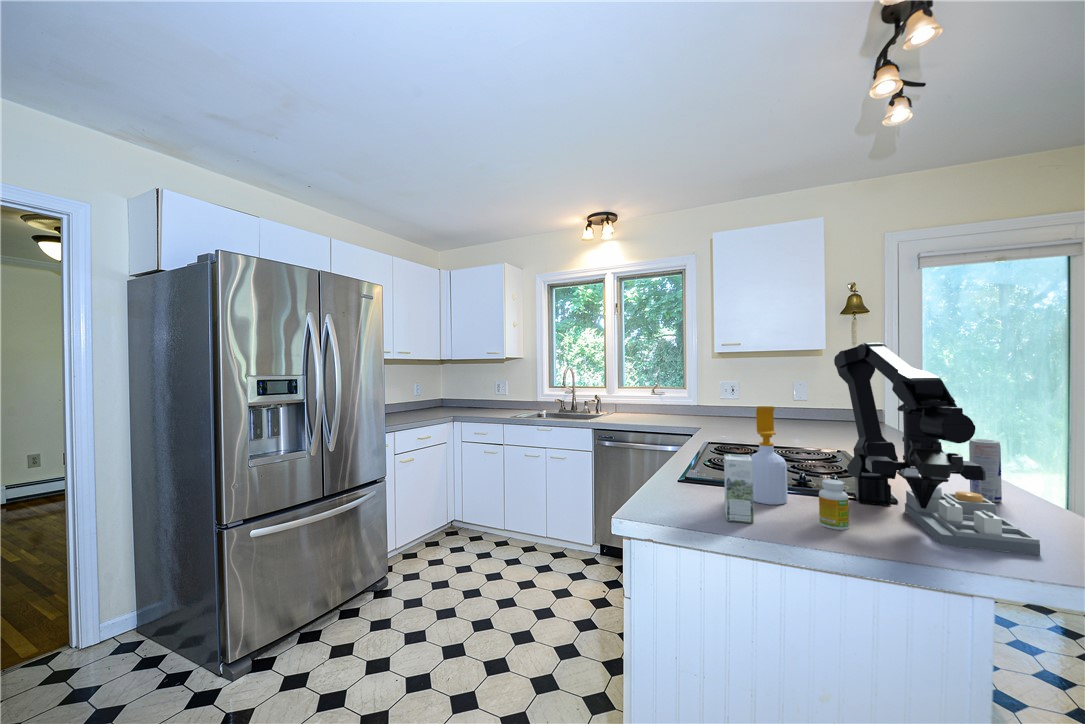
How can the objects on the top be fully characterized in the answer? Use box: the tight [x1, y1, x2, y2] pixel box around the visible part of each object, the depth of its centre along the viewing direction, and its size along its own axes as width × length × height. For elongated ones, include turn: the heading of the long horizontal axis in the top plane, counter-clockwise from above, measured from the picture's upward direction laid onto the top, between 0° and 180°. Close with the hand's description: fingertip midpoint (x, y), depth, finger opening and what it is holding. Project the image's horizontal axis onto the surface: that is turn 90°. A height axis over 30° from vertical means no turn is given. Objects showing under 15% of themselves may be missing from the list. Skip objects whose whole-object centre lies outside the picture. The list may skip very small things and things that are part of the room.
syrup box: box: [723, 453, 755, 524], centre depth 103 cm, size 6×6×14 cm
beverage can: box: [968, 438, 1003, 504], centre depth 111 cm, size 6×6×15 cm
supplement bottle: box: [818, 478, 850, 531], centre depth 97 cm, size 5×5×10 cm
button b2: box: [954, 490, 983, 503], centre depth 97 cm, size 4×4×3 cm
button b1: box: [931, 485, 943, 500], centre depth 100 cm, size 4×4×3 cm
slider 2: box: [974, 510, 1002, 535], centre depth 86 cm, size 2×4×4 cm, turn 157°
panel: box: [904, 489, 1041, 556], centre depth 92 cm, size 14×20×5 cm
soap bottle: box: [750, 405, 789, 506], centre depth 115 cm, size 9×9×25 cm
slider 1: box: [939, 499, 963, 522], centre depth 92 cm, size 2×4×4 cm, turn 157°
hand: (922, 507), depth 94 cm, fingers closed
